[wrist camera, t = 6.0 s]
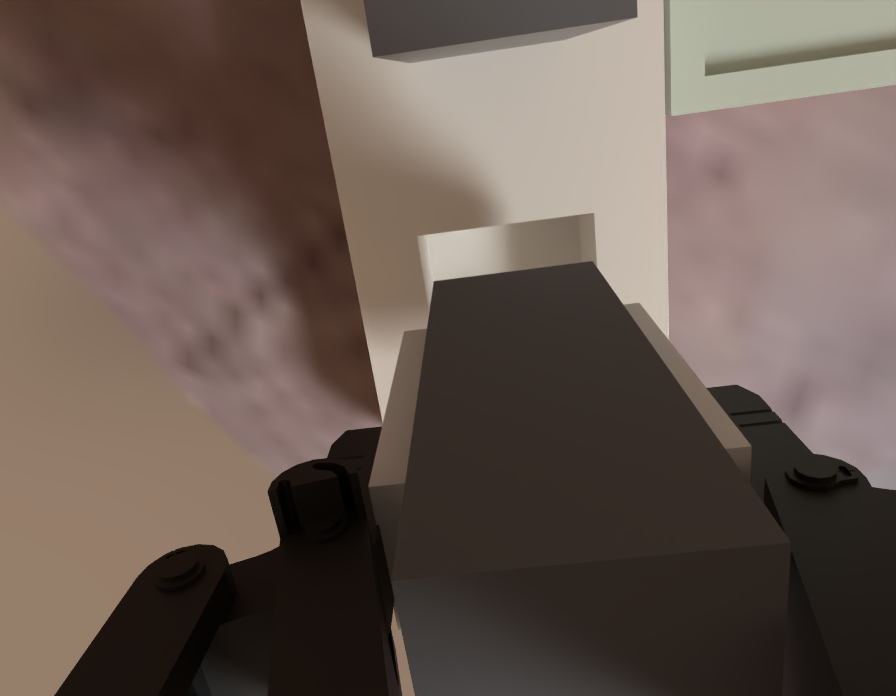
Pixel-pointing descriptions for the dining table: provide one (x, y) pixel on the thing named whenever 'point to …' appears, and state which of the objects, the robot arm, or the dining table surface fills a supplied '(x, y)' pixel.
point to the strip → (492, 147)
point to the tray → (774, 50)
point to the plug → (575, 509)
